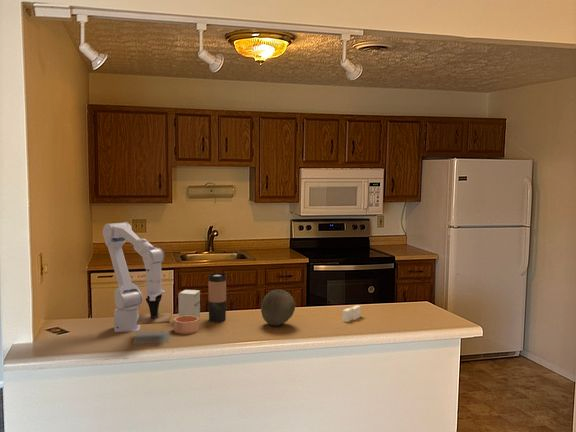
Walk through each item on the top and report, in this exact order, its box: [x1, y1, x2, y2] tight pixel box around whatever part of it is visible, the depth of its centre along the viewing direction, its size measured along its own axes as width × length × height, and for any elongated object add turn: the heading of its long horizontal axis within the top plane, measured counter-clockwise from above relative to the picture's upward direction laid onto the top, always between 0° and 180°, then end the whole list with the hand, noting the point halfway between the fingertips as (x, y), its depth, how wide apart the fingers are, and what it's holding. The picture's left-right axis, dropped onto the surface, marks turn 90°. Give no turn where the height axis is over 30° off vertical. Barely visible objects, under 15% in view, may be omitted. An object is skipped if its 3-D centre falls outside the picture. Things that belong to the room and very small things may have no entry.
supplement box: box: [178, 289, 201, 319], centre depth 233 cm, size 7×7×13 cm
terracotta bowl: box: [173, 315, 200, 335], centre depth 219 cm, size 10×10×5 cm
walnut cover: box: [137, 311, 172, 326], centre depth 209 cm, size 12×12×4 cm
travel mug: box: [208, 272, 227, 323], centre depth 234 cm, size 8×8×20 cm
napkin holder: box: [341, 304, 362, 323], centre depth 239 cm, size 15×11×6 cm
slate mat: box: [132, 331, 171, 345], centre depth 209 cm, size 13×13×1 cm
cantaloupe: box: [260, 289, 296, 327], centre depth 228 cm, size 14×14×15 cm
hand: (154, 314), depth 209 cm, fingers closed on walnut cover, 3 cm apart
